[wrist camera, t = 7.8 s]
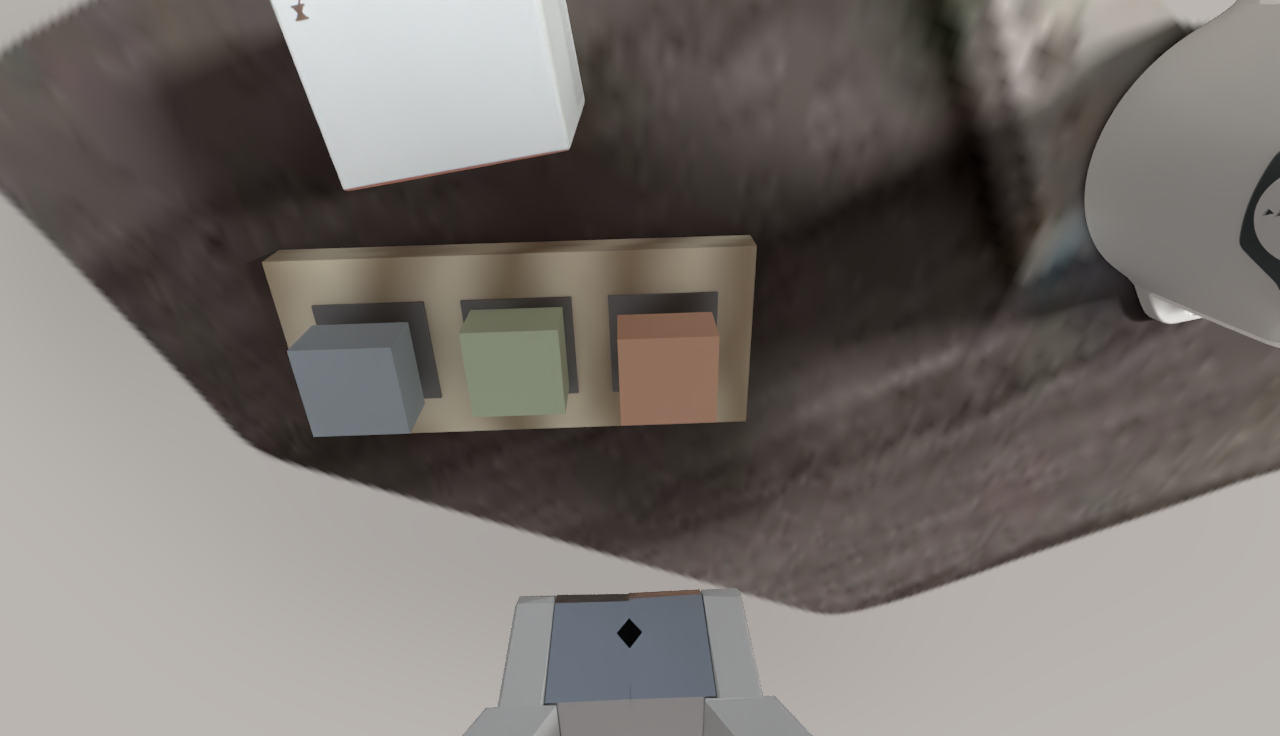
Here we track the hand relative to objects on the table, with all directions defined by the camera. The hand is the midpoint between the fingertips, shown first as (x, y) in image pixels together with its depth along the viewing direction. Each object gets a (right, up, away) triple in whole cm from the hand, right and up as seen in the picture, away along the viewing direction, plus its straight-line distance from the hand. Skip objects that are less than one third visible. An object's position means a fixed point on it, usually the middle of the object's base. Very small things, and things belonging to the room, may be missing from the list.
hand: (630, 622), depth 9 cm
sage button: (-7, +5, +28) cm, 29 cm away
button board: (-7, +6, +30) cm, 31 cm away
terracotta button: (+2, +4, +27) cm, 27 cm away
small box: (-7, +19, +23) cm, 31 cm away
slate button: (-14, +4, +27) cm, 30 cm away
